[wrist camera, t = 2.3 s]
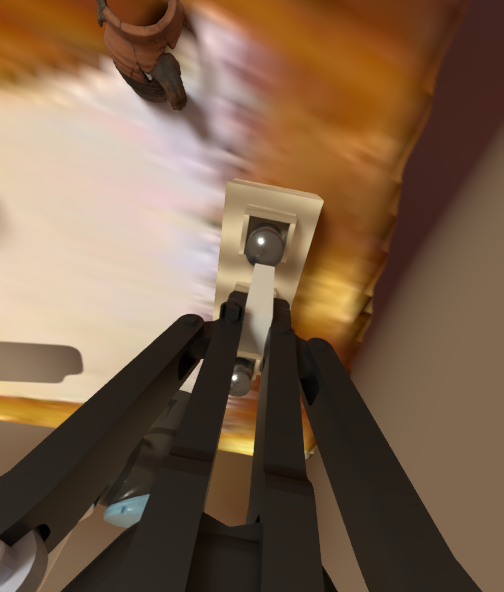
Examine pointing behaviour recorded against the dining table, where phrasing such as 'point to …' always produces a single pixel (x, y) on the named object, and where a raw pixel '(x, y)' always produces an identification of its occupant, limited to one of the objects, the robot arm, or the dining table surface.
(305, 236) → the beige long block
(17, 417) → the dining table surface
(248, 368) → the knob far
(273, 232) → the knob near
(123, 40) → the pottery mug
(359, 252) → the dining table surface
